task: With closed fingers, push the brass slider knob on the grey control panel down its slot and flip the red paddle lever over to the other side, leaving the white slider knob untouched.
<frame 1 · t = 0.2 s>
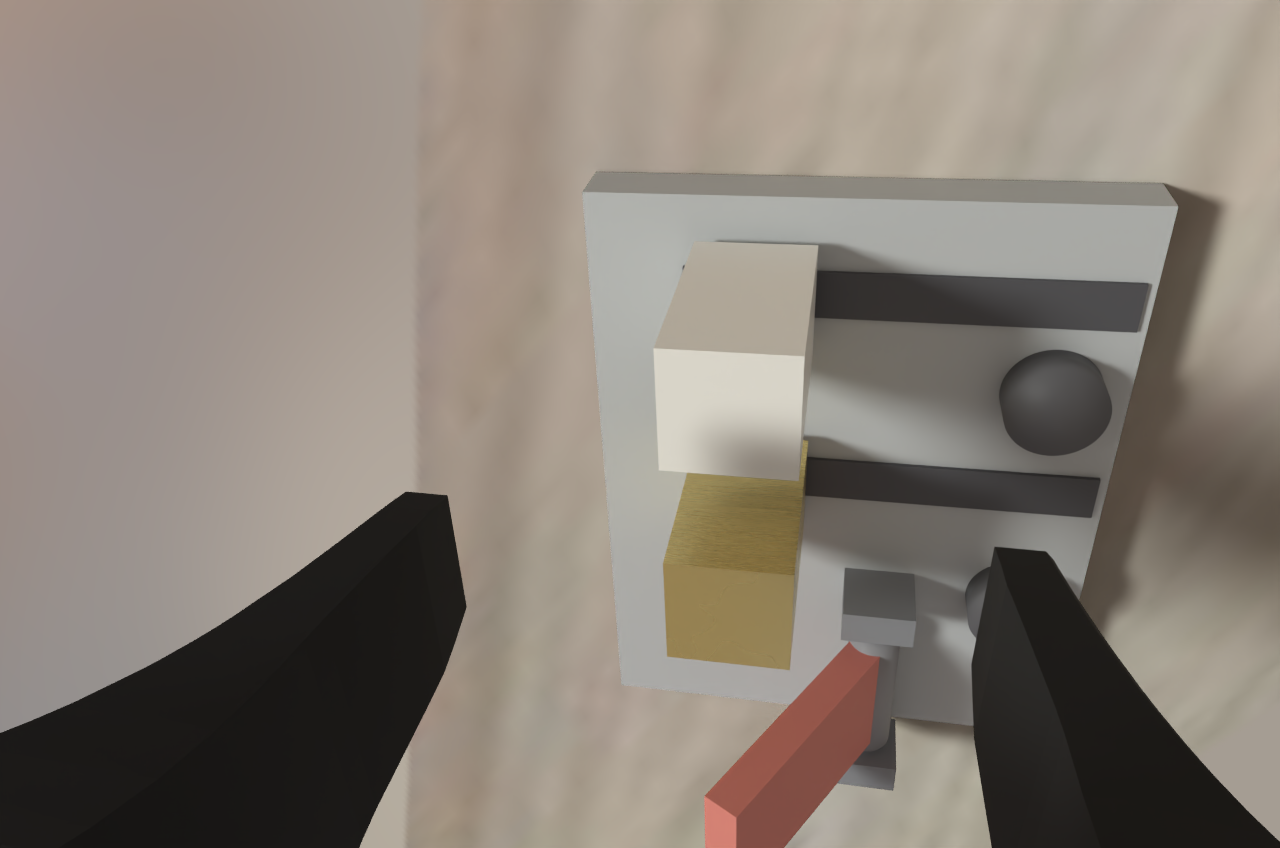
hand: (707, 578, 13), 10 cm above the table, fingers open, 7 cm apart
white slider: (742, 352, 18), point 4 cm above the table, slide at 0.0 cm
brass slider: (740, 543, 21), point 4 cm above the table, slide at 0.0 cm
red paddle: (808, 752, 23), point 4 cm above the table, hinge at -30.0°
panel: (843, 465, 24), on the table
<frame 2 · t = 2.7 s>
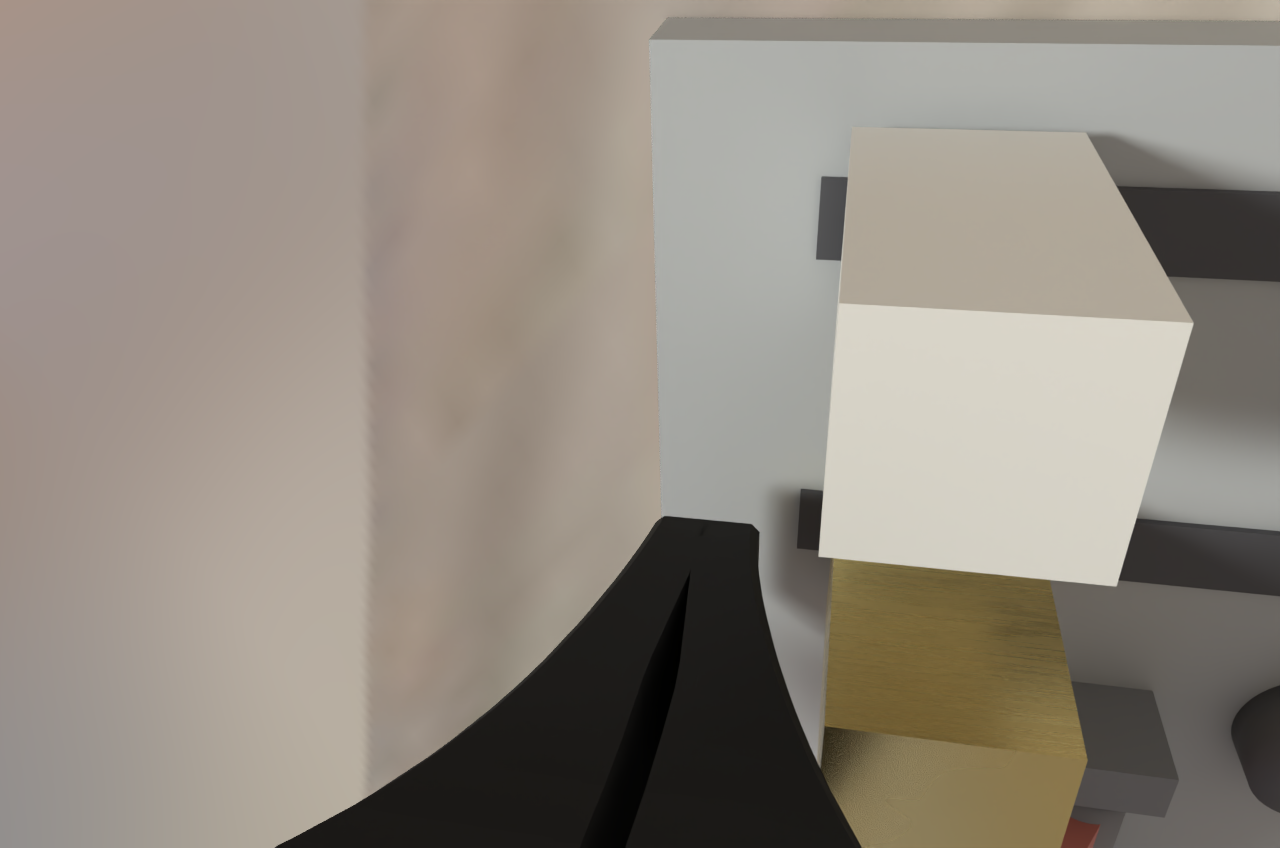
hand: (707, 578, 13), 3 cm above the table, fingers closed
white slider: (965, 323, 10), point 4 cm above the table, slide at 0.0 cm
brass slider: (928, 663, 12), point 4 cm above the table, slide at 0.2 cm, touching gripper
panel: (1039, 516, 15), on the table
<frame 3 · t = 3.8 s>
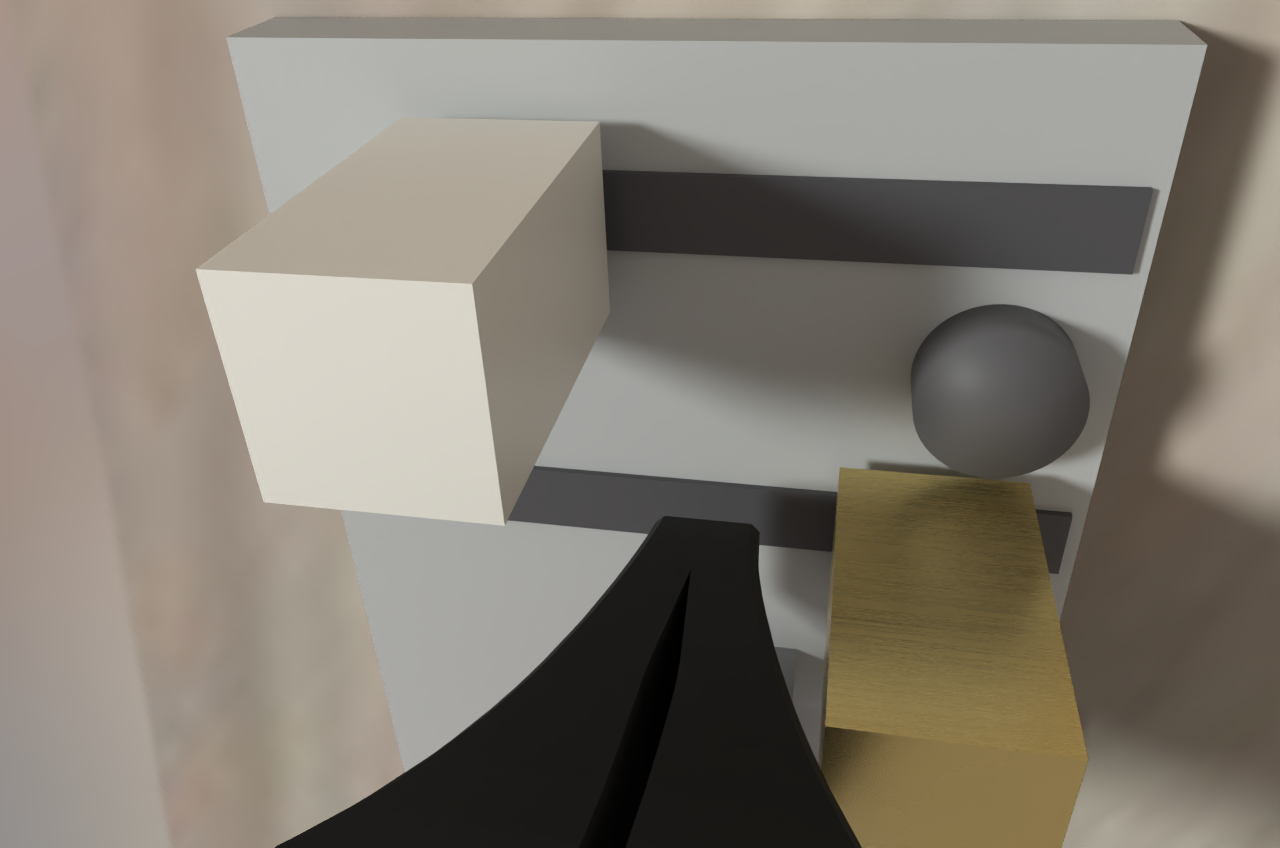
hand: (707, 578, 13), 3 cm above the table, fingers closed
white slider: (446, 294, 11), point 4 cm above the table, slide at 0.0 cm
brass slider: (929, 663, 12), point 4 cm above the table, slide at 5.4 cm, touching gripper
panel: (693, 485, 16), on the table
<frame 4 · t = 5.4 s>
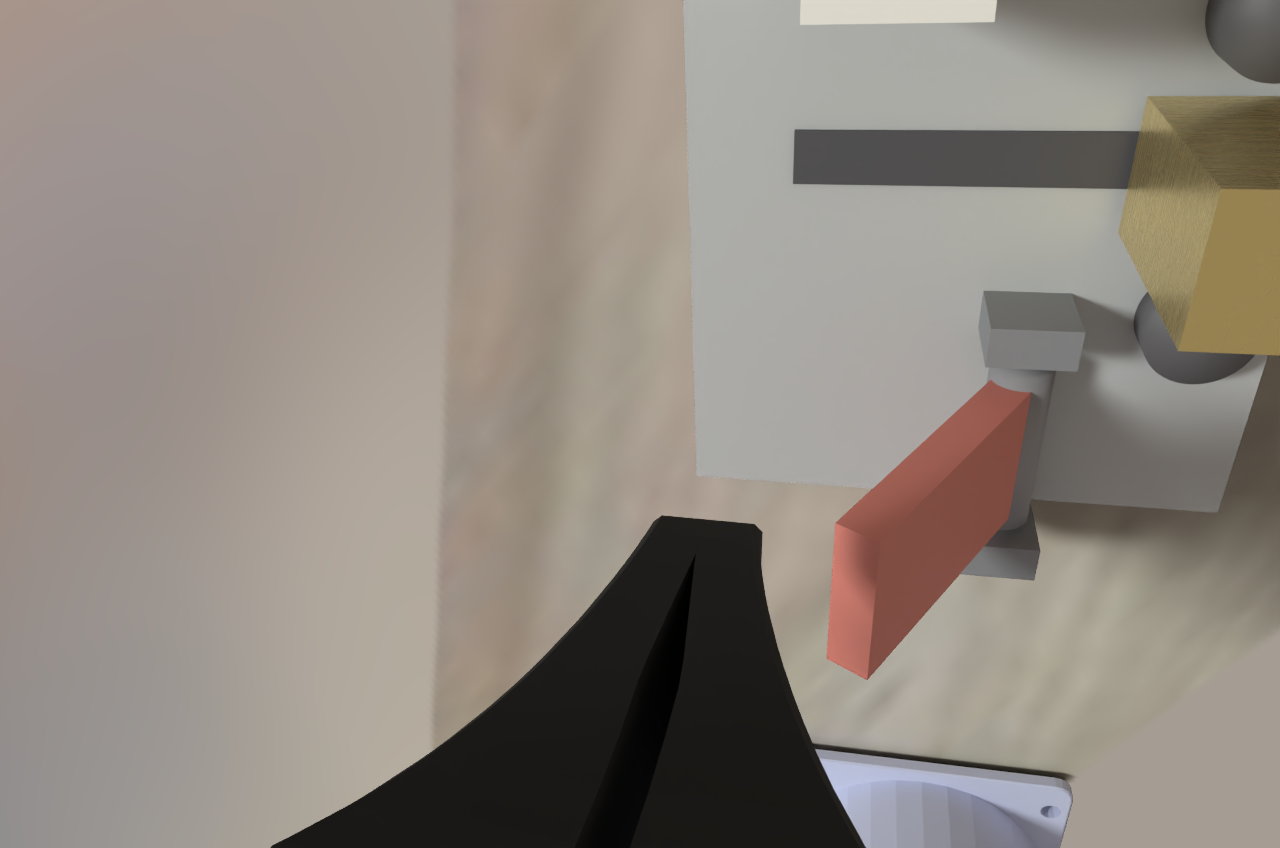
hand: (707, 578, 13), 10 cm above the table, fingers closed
brass slider: (1246, 215, 15), point 4 cm above the table, slide at 5.5 cm
red paddle: (946, 506, 19), point 4 cm above the table, hinge at -30.0°
panel: (981, 163, 19), on the table
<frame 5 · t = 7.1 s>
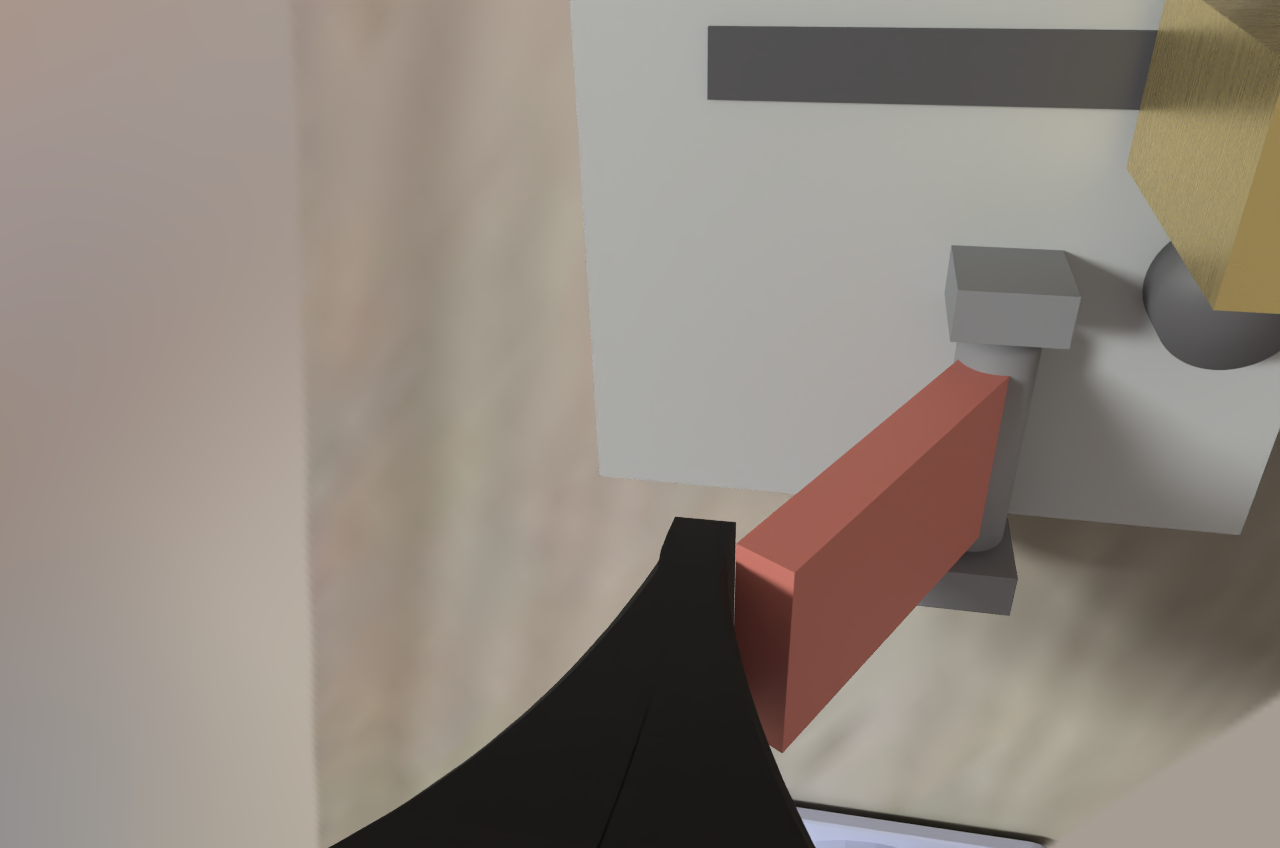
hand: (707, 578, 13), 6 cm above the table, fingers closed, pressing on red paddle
red paddle: (896, 521, 14), point 4 cm above the table, hinge at -29.8°, touching gripper
panel: (951, 81, 15), on the table
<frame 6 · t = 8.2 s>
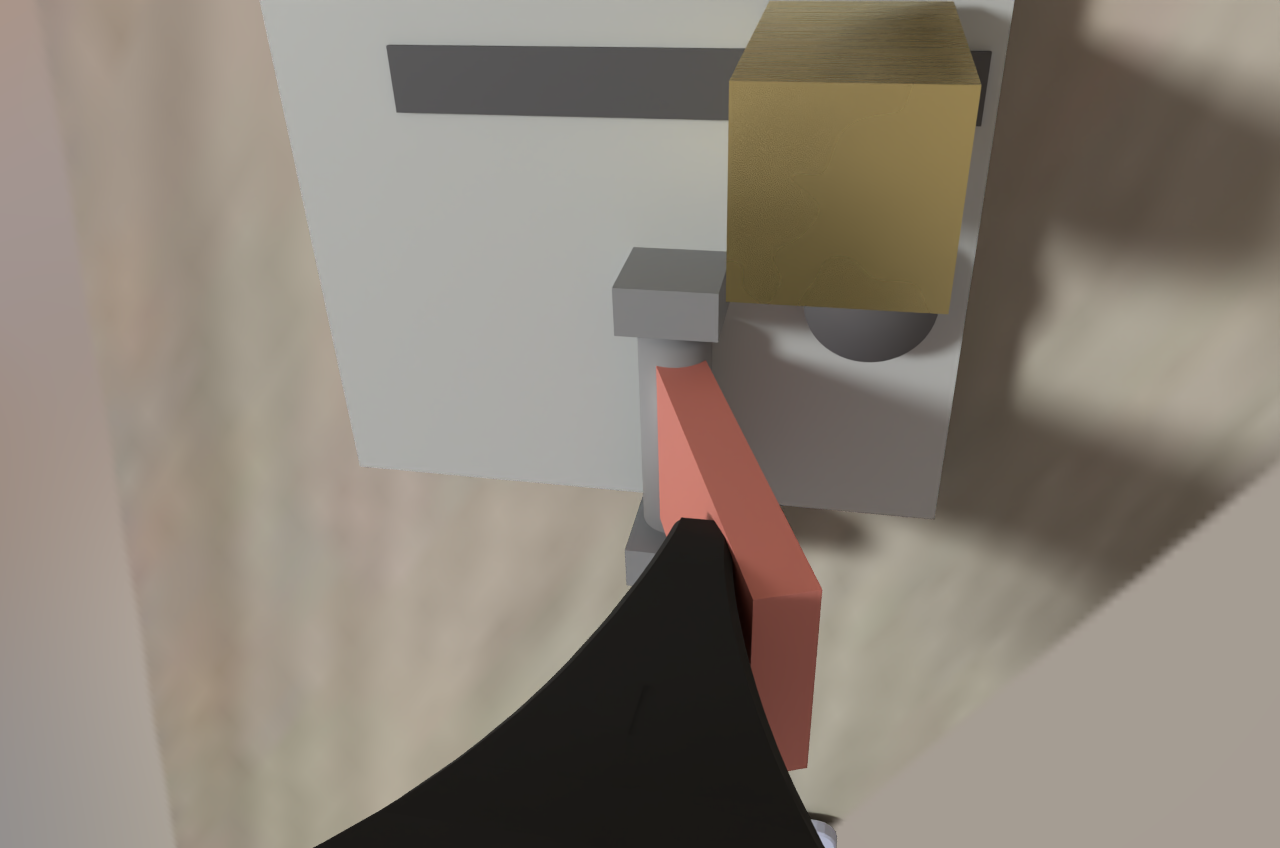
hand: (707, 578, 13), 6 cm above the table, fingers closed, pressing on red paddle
brass slider: (848, 139, 12), point 4 cm above the table, slide at 5.5 cm
red paddle: (714, 524, 15), point 5 cm above the table, hinge at 21.8°, touching gripper
panel: (631, 95, 16), on the table
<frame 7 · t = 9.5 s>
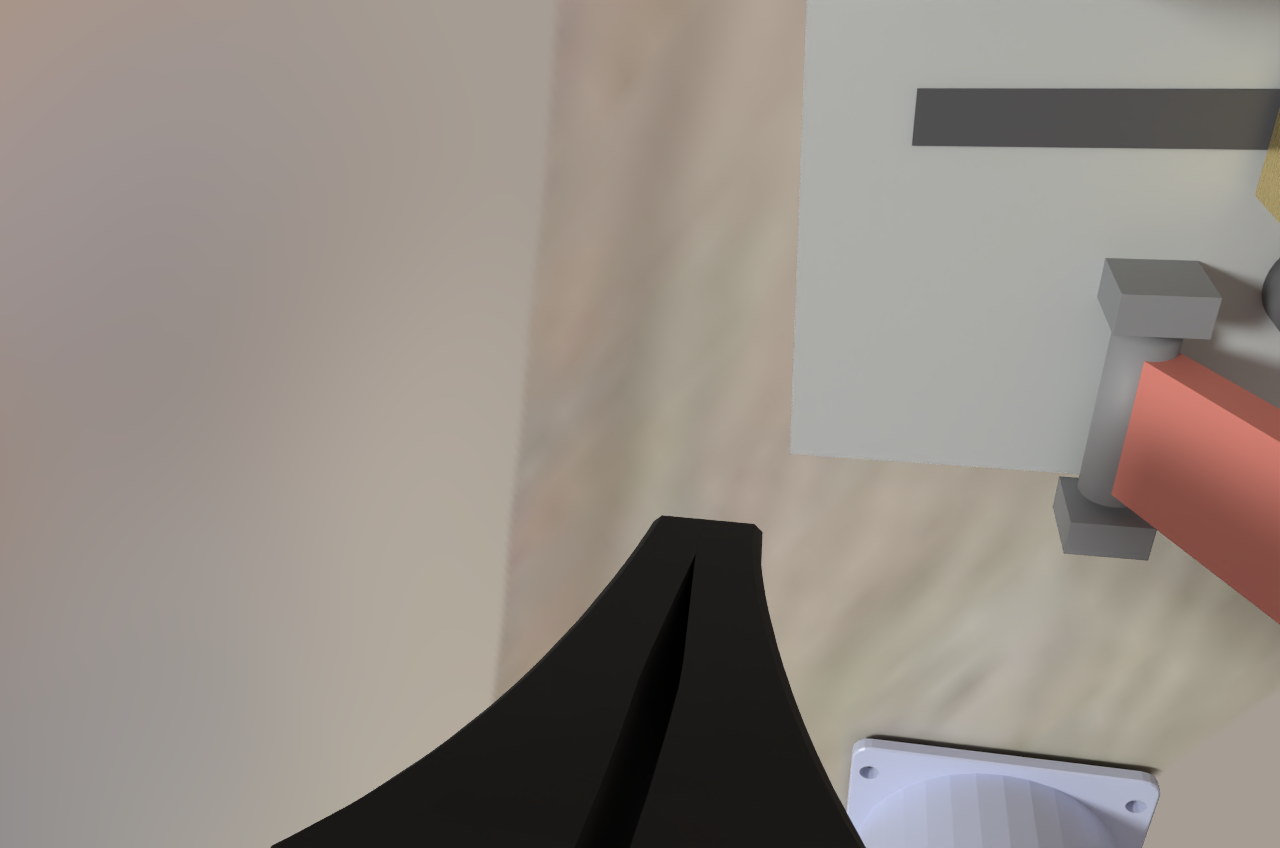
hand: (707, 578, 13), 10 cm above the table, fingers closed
red paddle: (1240, 490, 17), point 4 cm above the table, hinge at 30.7°
panel: (1104, 126, 19), on the table
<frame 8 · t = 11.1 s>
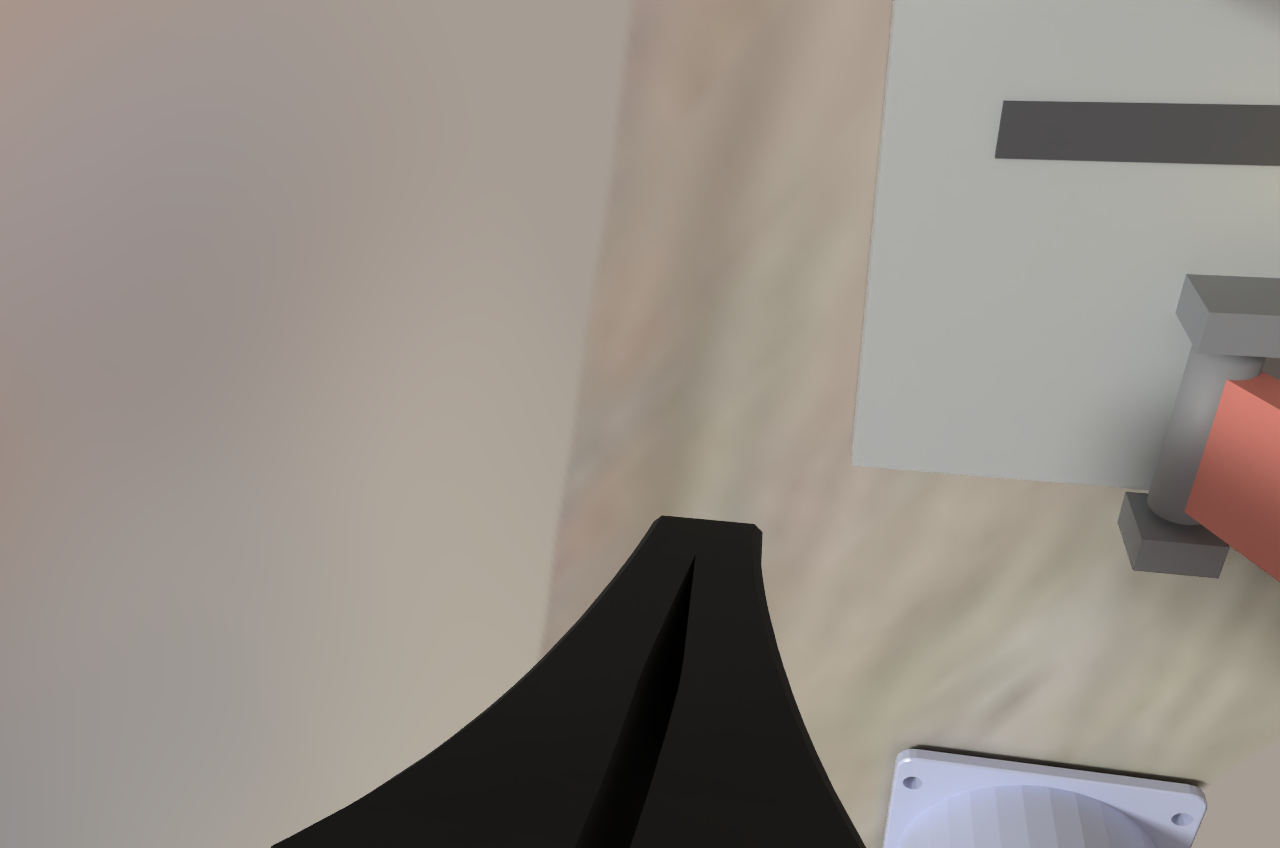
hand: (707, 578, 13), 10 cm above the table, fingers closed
panel: (1187, 141, 19), on the table
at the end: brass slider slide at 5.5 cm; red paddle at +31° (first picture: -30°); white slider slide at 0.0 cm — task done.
